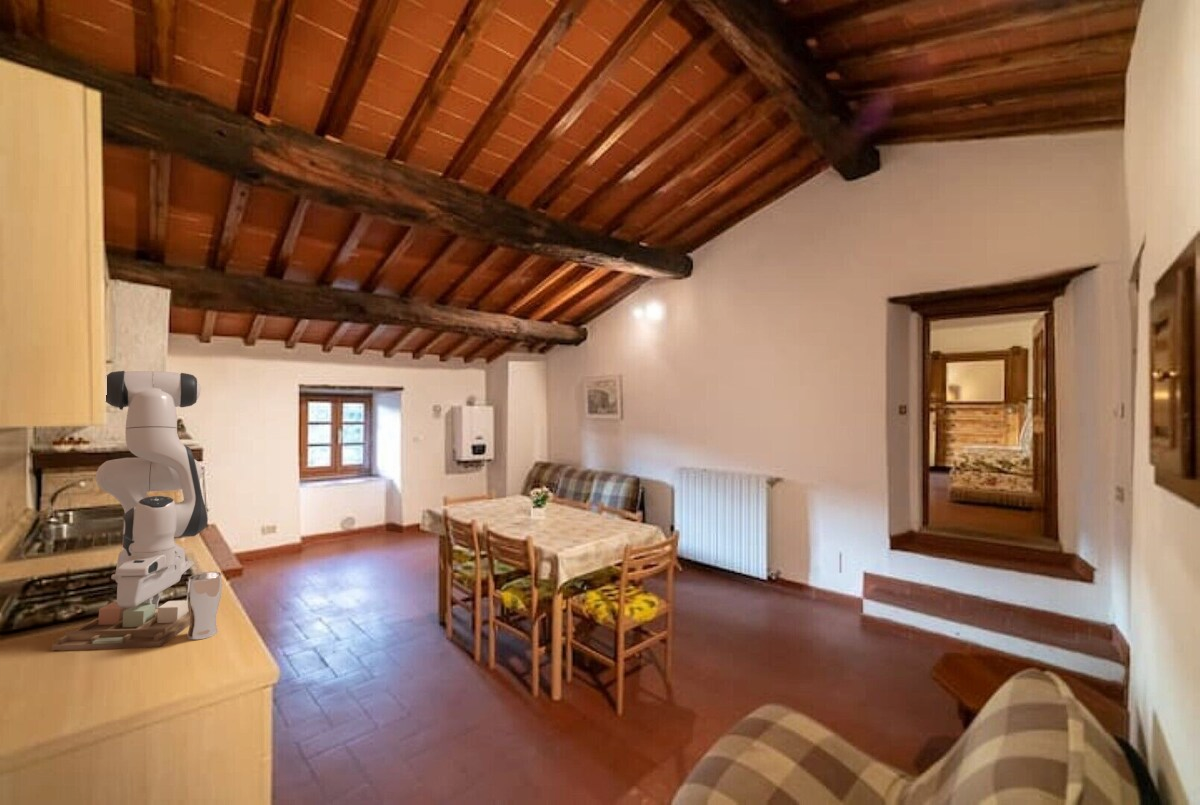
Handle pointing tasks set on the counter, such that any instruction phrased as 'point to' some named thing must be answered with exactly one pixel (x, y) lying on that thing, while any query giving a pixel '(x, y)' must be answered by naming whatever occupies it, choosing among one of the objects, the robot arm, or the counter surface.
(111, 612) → the salmon pink cube
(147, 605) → the sage green cube
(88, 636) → the brown compartment tray
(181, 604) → the pale pink cube
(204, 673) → the counter surface
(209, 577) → the beer glass
